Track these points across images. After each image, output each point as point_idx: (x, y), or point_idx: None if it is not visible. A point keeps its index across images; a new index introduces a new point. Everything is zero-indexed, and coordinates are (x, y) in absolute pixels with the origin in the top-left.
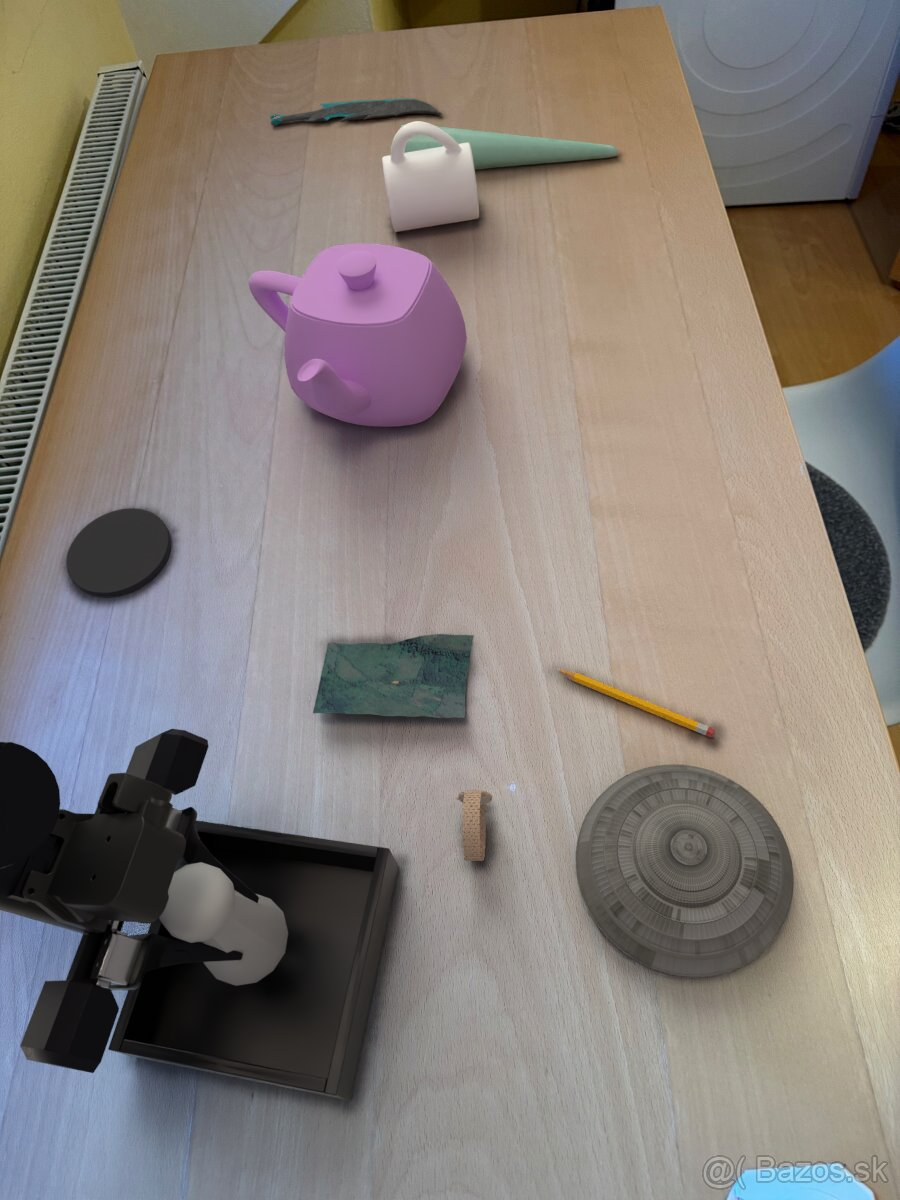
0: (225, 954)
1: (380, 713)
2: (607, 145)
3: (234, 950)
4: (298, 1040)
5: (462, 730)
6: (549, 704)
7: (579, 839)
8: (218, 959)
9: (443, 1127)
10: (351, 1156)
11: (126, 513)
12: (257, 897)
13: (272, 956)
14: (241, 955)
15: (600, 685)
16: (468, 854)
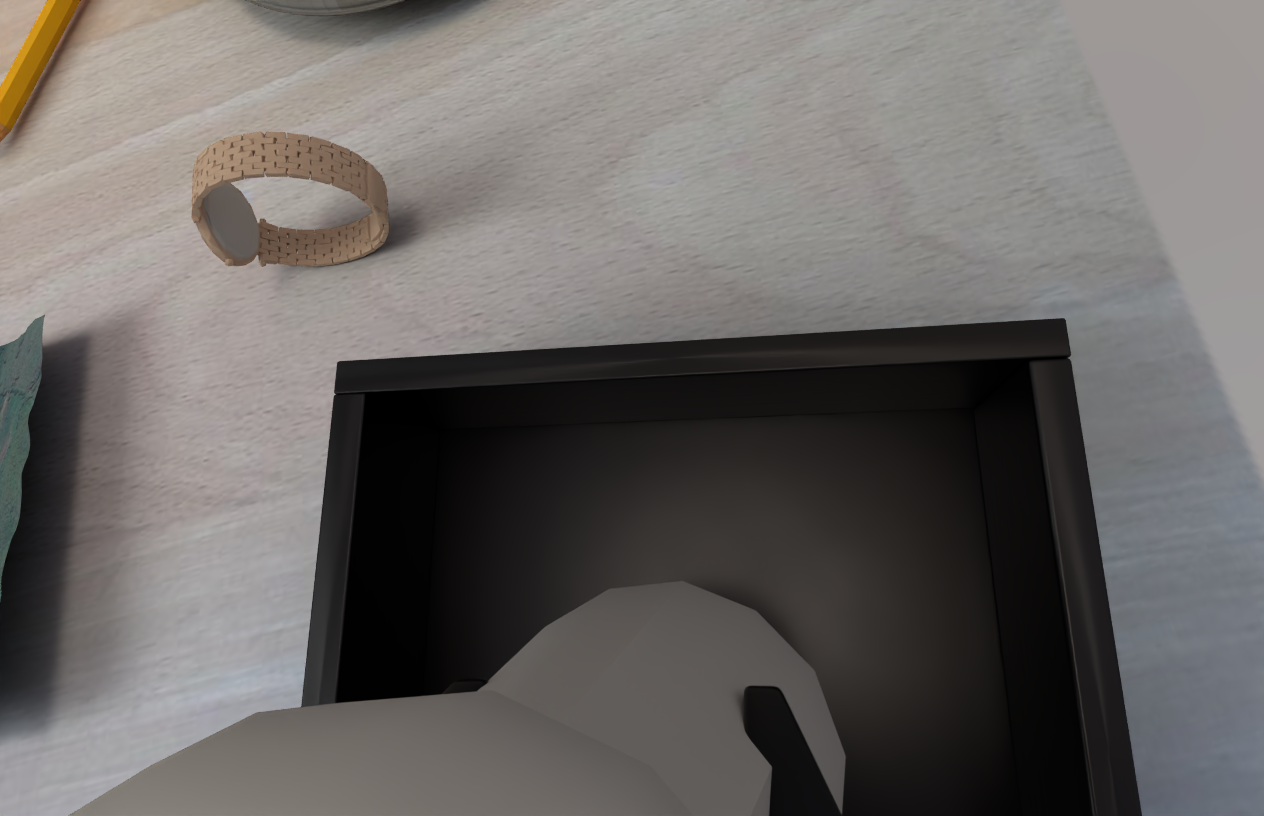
0: (784, 775)
1: (10, 537)
2: None
3: (745, 730)
4: (896, 555)
5: (102, 340)
6: (59, 169)
7: (329, 3)
8: (832, 811)
9: (984, 161)
10: (1121, 347)
11: None
12: (457, 685)
13: (711, 604)
14: (758, 690)
15: (17, 65)
16: (359, 183)
